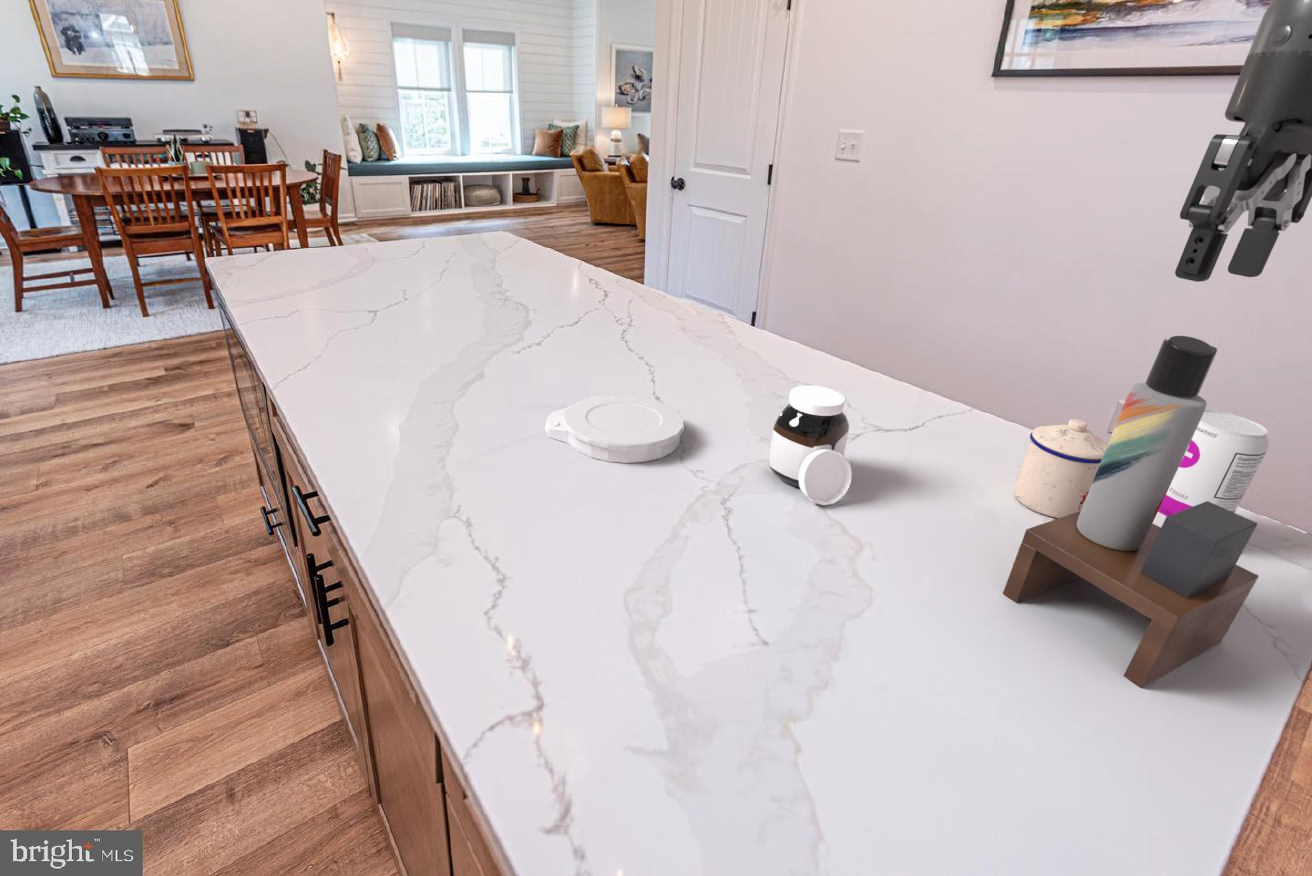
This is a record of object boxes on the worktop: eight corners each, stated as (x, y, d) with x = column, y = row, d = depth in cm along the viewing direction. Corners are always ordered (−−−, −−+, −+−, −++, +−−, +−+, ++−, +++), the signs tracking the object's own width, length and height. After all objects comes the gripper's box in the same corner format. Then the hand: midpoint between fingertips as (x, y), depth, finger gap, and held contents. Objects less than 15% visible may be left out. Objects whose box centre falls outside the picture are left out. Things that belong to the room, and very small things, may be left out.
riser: (1082, 561, 77) (1108, 501, 73) (1221, 642, 66) (1259, 575, 62) (1002, 593, 70) (1026, 529, 67) (1141, 688, 59) (1178, 617, 56)
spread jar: (800, 454, 96) (814, 377, 91) (871, 486, 89) (891, 405, 84) (747, 480, 88) (759, 397, 83) (821, 517, 81) (839, 429, 76)
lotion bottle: (1132, 527, 68) (1217, 337, 60) (1149, 558, 63) (1245, 355, 55) (1069, 514, 70) (1144, 326, 61) (1081, 543, 65) (1164, 344, 56)
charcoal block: (1180, 554, 64) (1207, 500, 62) (1228, 578, 61) (1258, 523, 59) (1139, 572, 61) (1166, 516, 59) (1187, 599, 58) (1217, 541, 56)
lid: (566, 402, 107) (566, 385, 105) (691, 421, 104) (693, 403, 102) (525, 450, 91) (525, 430, 90) (670, 473, 88) (672, 453, 87)
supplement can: (1146, 540, 82) (1198, 427, 75) (1131, 508, 89) (1178, 402, 82) (1226, 558, 79) (1287, 444, 73) (1204, 524, 86) (1258, 416, 80)
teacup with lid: (1092, 529, 83) (1128, 444, 78) (1011, 509, 86) (1040, 426, 81) (1080, 486, 93) (1110, 409, 88) (1008, 470, 96) (1034, 394, 91)
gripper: (1338, 37, 42) (1225, 293, 50) (1421, 60, 49) (1311, 284, 56) (1206, 42, 48) (1122, 270, 55) (1296, 62, 55) (1210, 264, 62)
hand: (1217, 277), depth 56 cm, fingers open, 8 cm apart
